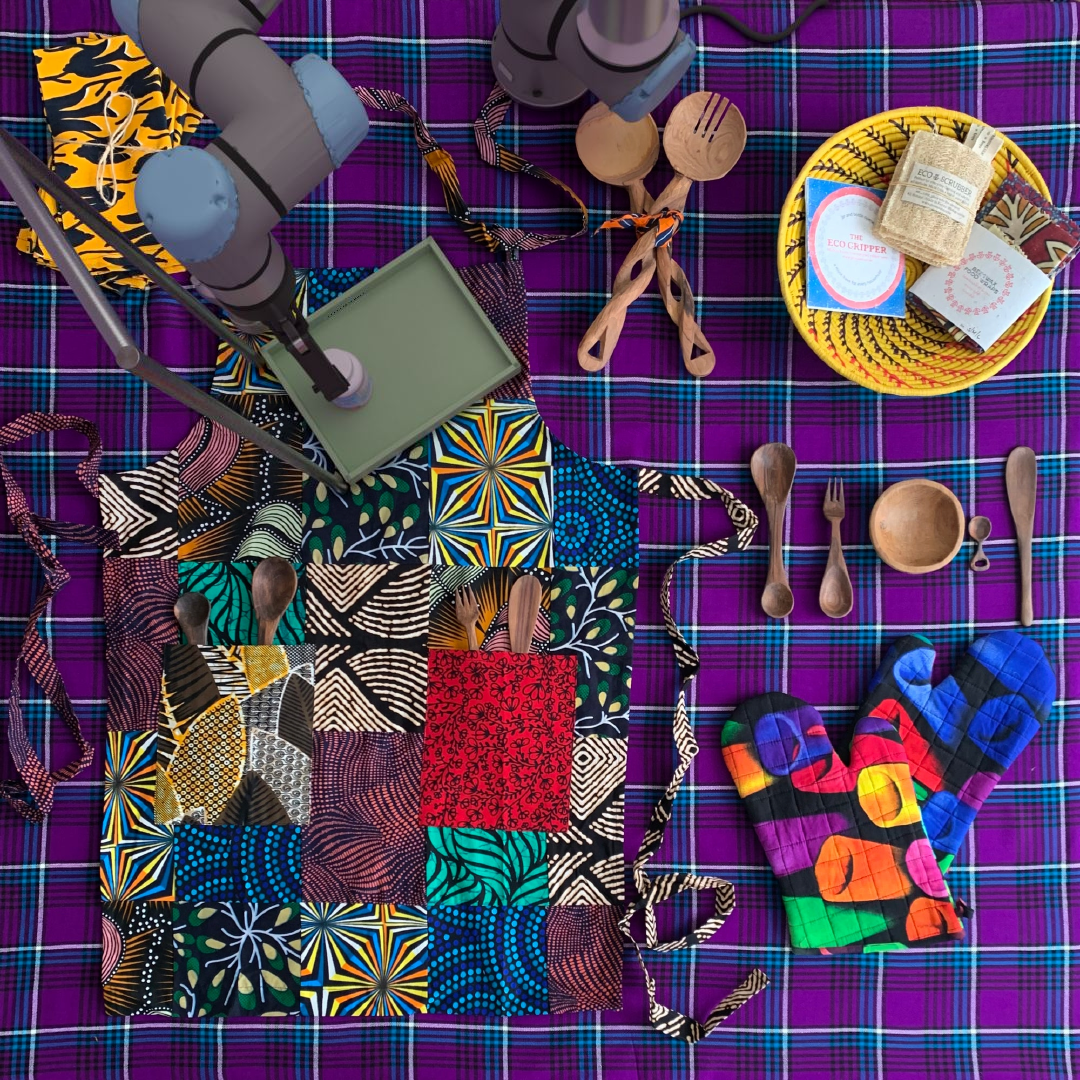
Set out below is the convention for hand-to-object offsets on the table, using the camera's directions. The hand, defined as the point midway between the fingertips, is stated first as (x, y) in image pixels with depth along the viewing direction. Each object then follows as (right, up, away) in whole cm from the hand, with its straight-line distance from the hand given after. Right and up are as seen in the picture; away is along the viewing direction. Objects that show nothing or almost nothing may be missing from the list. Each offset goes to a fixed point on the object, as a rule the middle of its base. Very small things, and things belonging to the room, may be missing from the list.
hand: (306, 340), depth 104 cm
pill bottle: (+1, -2, +19) cm, 20 cm away
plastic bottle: (-12, +8, +21) cm, 25 cm away
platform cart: (+6, +1, +20) cm, 21 cm away
